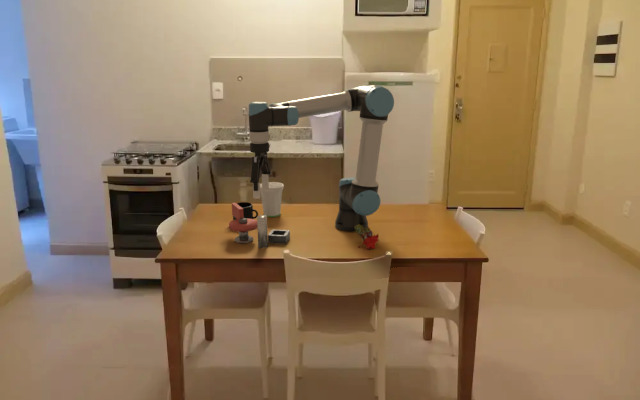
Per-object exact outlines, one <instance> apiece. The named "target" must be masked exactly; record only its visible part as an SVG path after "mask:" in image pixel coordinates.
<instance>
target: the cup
mask: <svg viewBox="0 0 640 400" xmlns="http://www.w3.org/2000/svg"><path fill="white" fill-rule="evenodd" d="M284 188H285V185H284V183H282V182H280V181H279V182H278V181H269V190H262V182H260V200H261V204H262V211H263V215H265V216H267V218H277V217H280V216H281V207H282V198H283V190H284Z"/></svg>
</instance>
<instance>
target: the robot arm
mask: <svg viewBox="0 0 640 400" xmlns="http://www.w3.org/2000/svg"><path fill="white" fill-rule="evenodd" d="M394 106H395V100H394V96H393V93H392V92H391V91H390V90H389V89H388V88H385V87H384V86H381V85H373V84H364V85H360V86H357V87H352V88H348V89H344V90H343V92H338V93H332V94H331V93H330V94H325V95H320V96H313V97H307V98H301V99H297V100H296V99H295V100H290V101H284V102H272V103H270V104H268V103H267V102H266V101H252V102H250V103H248V114H247V115H248V129H249V133H248V136H249V141H250V142H249V152H250V153H253V154H254V156H252V159H251V171H250V172H251V174H250V180H249V182H250V184H251V183H252V198H253V199H257V200H261V192H260V184H261V183H262V190H269V182H270V181H269V180H270V179H269V178H270V177H269V175H270V174H271V169H270V165H269V164H270V163H269V157H268V152H270V143H269V141H270V138H269V137H270V135H269V134H270V133H269V131H270V130H269V128H270V127H285V126H286V127H287V126H288V127H291V126H296V125H298V123H299V120H300V118H302V119H303V118H307V117H312V116H320V115H326V114H330V113H331V114H332V113H336V112H343V111H347V113H351V112H359V119H360V120H361V122H362V124H361V125H362V126H361V133H360V139H359V147H358V148H359V149H358V157H357V163H356V172H355V176H354V177H352V176H351V177H344V178H341V179H340V180H339V183H338V212H337V216H336V218H335V225H334V226H335V227H334V228H335V229H338V230H339V231H343V232H354V233H355V232H356V230H355V228H354V227H355V226H357V225H359V224H360V225H362V226H363V227H364V228H365V227H367V228H369V223H368V219H367V218H368V217H367V216H371V215H373V214H374V213H376V212H377V211H378V210H379V208H380V206H381V197H380V195H379V193H378V191H379V183H378V182H377V180H376V179H377V171H378V164H379V157H380V150H381V143H382V142H381V141H382V135H383V130H384V129H383V128H384V124H385V123H387V122H388V117H389V114H390V113H391V112H392V111H393V109H394ZM261 173H262V174H261ZM260 176H261V178H260ZM260 179H261V182H260ZM365 229H366V228H365Z"/></svg>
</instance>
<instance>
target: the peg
mask: <svg viewBox="0 0 640 400" xmlns="http://www.w3.org/2000/svg"><path fill="white" fill-rule="evenodd" d="M256 221H257V228H256V229H257V247H258V248H259V249H266V248H268V246H269V245H268V244H269V243H268V217H267V216H265V215H264V214H262V215H261V214H260V215H258V216H257V218H256Z"/></svg>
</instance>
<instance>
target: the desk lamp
mask: <svg viewBox="0 0 640 400" xmlns="http://www.w3.org/2000/svg"><path fill="white" fill-rule="evenodd" d="M237 203H238V202H231V215H232V217H233V216H234V217H235V218H236V220H233V219H232V220H231V221H229V223H228V228H229V230H230V231H233V232H236V233H237V232H238V233H239V232H246V231H248V232H252V231H254V230H256V229H257V219H248V218H244V214H243V208H242V207H240V206H239V205H238V204H237Z"/></svg>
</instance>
